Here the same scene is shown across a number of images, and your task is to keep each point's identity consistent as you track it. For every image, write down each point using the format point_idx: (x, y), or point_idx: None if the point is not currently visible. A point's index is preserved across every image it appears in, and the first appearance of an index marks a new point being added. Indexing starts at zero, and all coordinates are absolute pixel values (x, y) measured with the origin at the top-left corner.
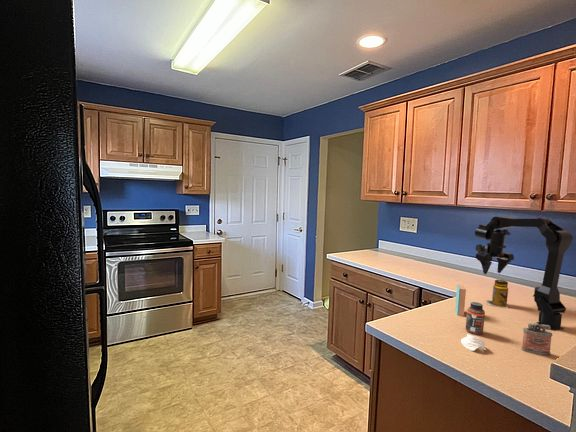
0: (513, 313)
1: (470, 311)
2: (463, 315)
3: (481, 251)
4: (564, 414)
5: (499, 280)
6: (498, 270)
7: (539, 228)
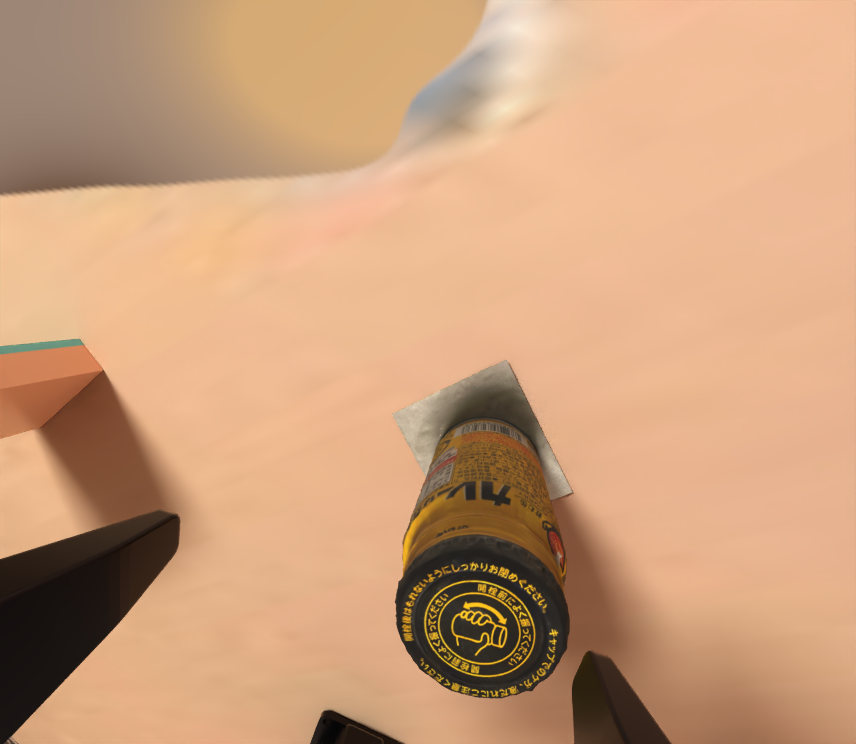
0: (383, 586)
1: None
2: (33, 427)
3: None
4: None
5: (494, 599)
6: (593, 721)
7: None
